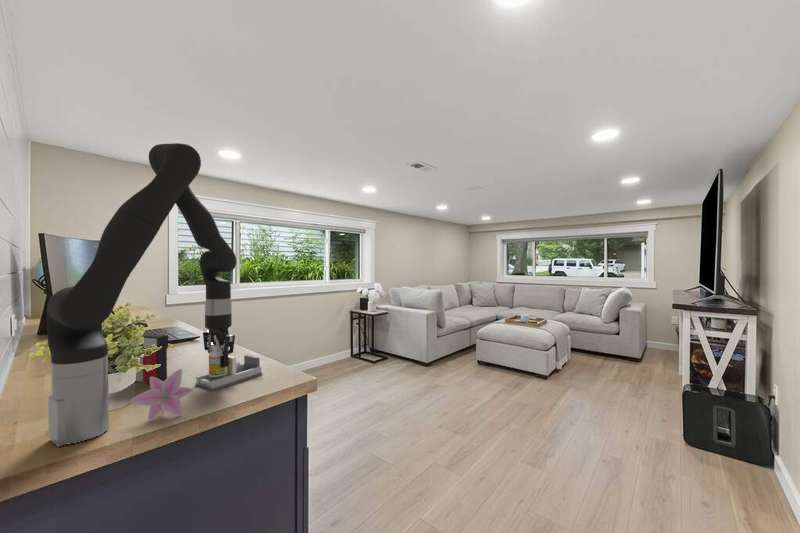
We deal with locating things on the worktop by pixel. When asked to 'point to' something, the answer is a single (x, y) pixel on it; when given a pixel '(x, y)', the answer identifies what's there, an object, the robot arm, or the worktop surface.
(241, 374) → the pusher lane
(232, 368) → the spring paddle
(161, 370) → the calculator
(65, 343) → the robot arm
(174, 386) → the lily
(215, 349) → the supplement bottle
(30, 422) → the worktop surface
